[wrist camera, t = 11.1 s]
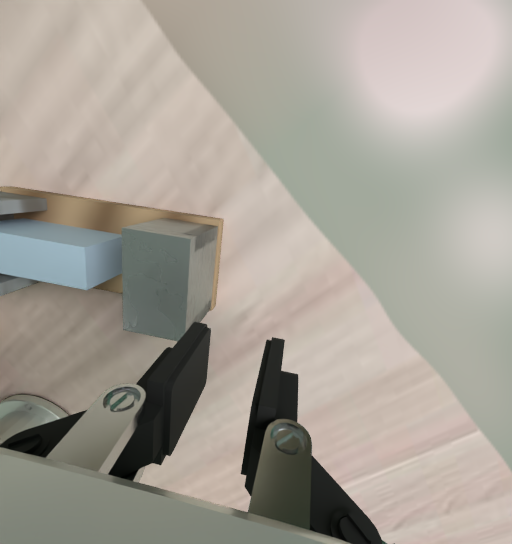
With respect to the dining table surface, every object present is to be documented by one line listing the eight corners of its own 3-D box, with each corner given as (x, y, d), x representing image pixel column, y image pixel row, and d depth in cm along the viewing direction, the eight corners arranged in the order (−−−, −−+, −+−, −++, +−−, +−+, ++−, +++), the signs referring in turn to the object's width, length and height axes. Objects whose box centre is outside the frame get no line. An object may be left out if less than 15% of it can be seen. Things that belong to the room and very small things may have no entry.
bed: (223, 219, 24) (197, 229, 18) (215, 305, 26) (190, 339, 20) (13, 186, 26) (-71, 186, 20) (23, 269, 28) (-49, 290, 23)
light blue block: (126, 235, 24) (84, 247, 20) (127, 270, 25) (86, 290, 21) (23, 218, 25) (-41, 225, 21) (27, 252, 26) (-33, 267, 22)
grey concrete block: (218, 226, 23) (190, 238, 17) (210, 307, 25) (184, 342, 19) (164, 217, 23) (121, 227, 18) (162, 298, 25) (123, 329, 20)
